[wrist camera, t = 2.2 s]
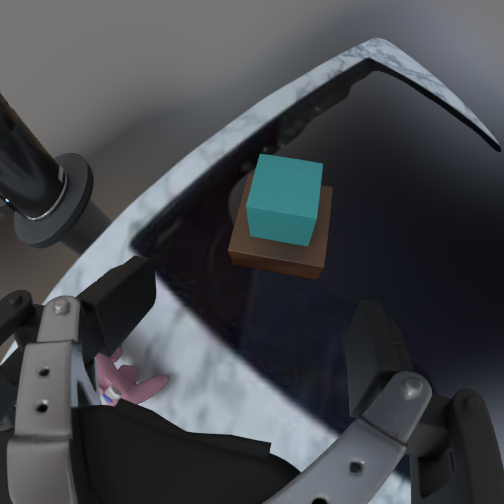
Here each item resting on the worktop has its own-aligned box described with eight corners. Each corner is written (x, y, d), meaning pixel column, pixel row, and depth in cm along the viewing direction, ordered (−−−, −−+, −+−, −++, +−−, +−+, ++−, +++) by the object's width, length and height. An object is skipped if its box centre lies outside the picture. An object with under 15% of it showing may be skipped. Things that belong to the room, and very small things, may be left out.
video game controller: (107, 331, 29) (59, 340, 23) (122, 307, 28) (70, 313, 22) (155, 400, 26) (109, 423, 20) (175, 380, 25) (126, 404, 19)
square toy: (250, 236, 27) (245, 206, 22) (261, 188, 29) (259, 153, 24) (308, 246, 26) (317, 218, 21) (314, 197, 28) (323, 163, 23)
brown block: (232, 264, 30) (227, 250, 26) (251, 193, 33) (248, 173, 30) (317, 279, 29) (324, 267, 25) (326, 206, 32) (332, 187, 28)
